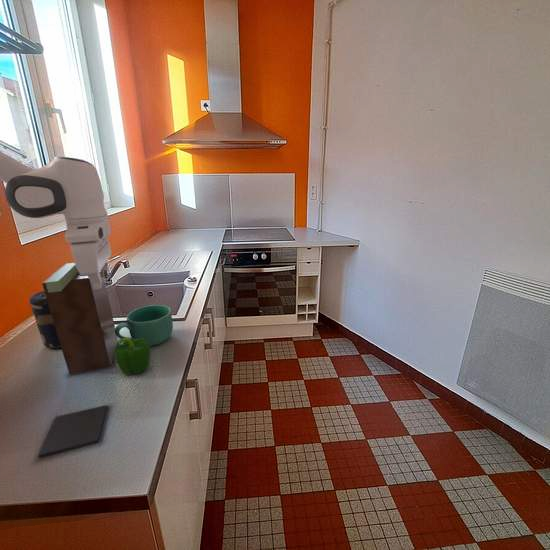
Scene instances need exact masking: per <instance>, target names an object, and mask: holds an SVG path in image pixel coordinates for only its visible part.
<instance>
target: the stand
mask: <svg viewBox="0 0 550 550" xmlns="http://www.w3.org/2000/svg"><path fill="white" fill-rule="evenodd" d="M62 267H63V266H61V267H59V268H58V269H57V270H56V271H55V272H54V273H52V274H51V275H50V276H49V277H48V278H47V279H45V280H44V281H43V282H42V283H41V285H42V288H43V291H44V292H45V295H46V298H47V302H48V305H49V308H50V312H51V315H52V318H53V322H54V325H55V328H56V332H57V335H58V338H59V342H60V345H61V347H60V348H61V351H62V355H63V358H64V361H65V365H66V367H67V372H68V375H72V374H73V375H74V374H77V373H83V372H89V371H94V370H98V369H105V368H109V367H111V366H112V363H113V359H114V358H115V348H116V346H118V343H119V338H118V337H117V336H116V334H115V328H116V326H115V321H114V317H113V313H112V312H113V311H112V308H111V307H112V306H111V303H110V300H109V294H108V290H107V286H106V281H105V277H101V274H100V272H99V274H100V275H99V276H100V280H101V281H102V288H101V289H93V285H92V283H91V281H90V279H89V277H88V276H81V275H80V274H79V273H77V274H76V275H75V277H74V278H73V279H72V280H71V281H70V282H69V283H68V284H67V285H66V286H65V287H64V288H63V290H62V291H58V292H50V293H48V289H47V286H46V282H47V281H48V280H49V279H50V278H51V277H52V276H54V275H55V274H56V273H57V272H58V271H59V270H60V269H61V268H62Z"/></svg>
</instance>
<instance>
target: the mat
mask: <svg viewBox="0 0 550 550" xmlns="http://www.w3.org/2000/svg"><path fill="white" fill-rule="evenodd" d="M107 410H108V405H107V404H106V405H101V406H96V407H93V408H89V409H84V410H79V411H75V412H71V413H67V414H62V415H58V416H55V418H54V419H53V422H52V425H51V427H50V429H49V431H48V433H47V435H46V437H45V439H44V442H43V444H42V446H41V448H40V451H39V452H38V455H37V457H38V458H43V457H47V456H50V455H54V454H58V453H62V452H67V451H69V450H73V449H77V448H81V447H85V446H89V445H92V444H96V443H99V441H100V438H101V434H102V429H103V426H104V421H105V418H106V414H107Z"/></svg>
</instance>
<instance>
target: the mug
mask: <svg viewBox="0 0 550 550" xmlns="http://www.w3.org/2000/svg"><path fill="white" fill-rule="evenodd" d="M173 324H174V323H173V316H172V310H171V308H170V307H169V306H168V305H164V304H163V305H162V304H151V305H145V306H142V307H138V308H135V309H134V310H132V311H130V312H129V313H128V314H127V315H126V322H120V323H119V324H117V325H116V326H115V334H116V336H117V338H118V339H119V340H120V339H122V338H128V339H137V338H140V337H142V338H143V339H144V340H145V341H146V342H147V343H148V344H149V347H151V346H157V345H159V344H161V343H163V342H165V341H166V340H167V339H169V338H170V337H171V335H172V333H173V330H174V325H173ZM123 328H126V329H127V330H128V331H129V335H130V337H128V336H124V335H122V334H121V333H120V331H121V330H122V329H123Z"/></svg>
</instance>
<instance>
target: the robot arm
mask: <svg viewBox="0 0 550 550" xmlns="http://www.w3.org/2000/svg"><path fill="white" fill-rule="evenodd" d="M0 181H2V182H4V183H6V185H5V188H4V197H5V200H6V202H7V204H8V206H9V208H11V209H12V210H13V211H14V212H15V213H17V214H18V215H20V216H23V217H26V218H30V219H44V218H48V217H52V216H56V215H63V216H64V219H65V223H66V230H65V232H64V239H65V242H66V244H70V252H71V255H72V258H73V261H74V263H75V264H76V267H77V270H78V272H79V274H80V275H81V276H88V277H89V279H90V281H91V283H92V285H93V289H101V288H102V281H101V280H100V276H99V275H100V274H101V277H104V278H108V277H109V275H110V272H109V259H110V258H111V256H112V249H111V244H110V241H109V237H108V236H110V235H111V234H112V229H111V223H110V218H109V214H108V211H107V209H106V207H105V203H104V202H105V194H104V190H103V189H104V188H103V186H102V182H101V178H100V175H99V173H98V170H97V168H96V166H95V165H94V164H93V163H92V162H90V161H89V160H86V159H83V158H82V159H81V158H76V157H70V156H56V157H54V158H52V160H51V161H49V162H48V163H46V164H45V165H43V166H41V167H39V168H35V167H33V166H31V165H29V164H27V163H26V162H24V161H22V160H20V159H18V158H16V157H15V156H13V155H11V154H9V153H8V152H6V151H4V150H3V149H0ZM99 272H100V274H99Z"/></svg>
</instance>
